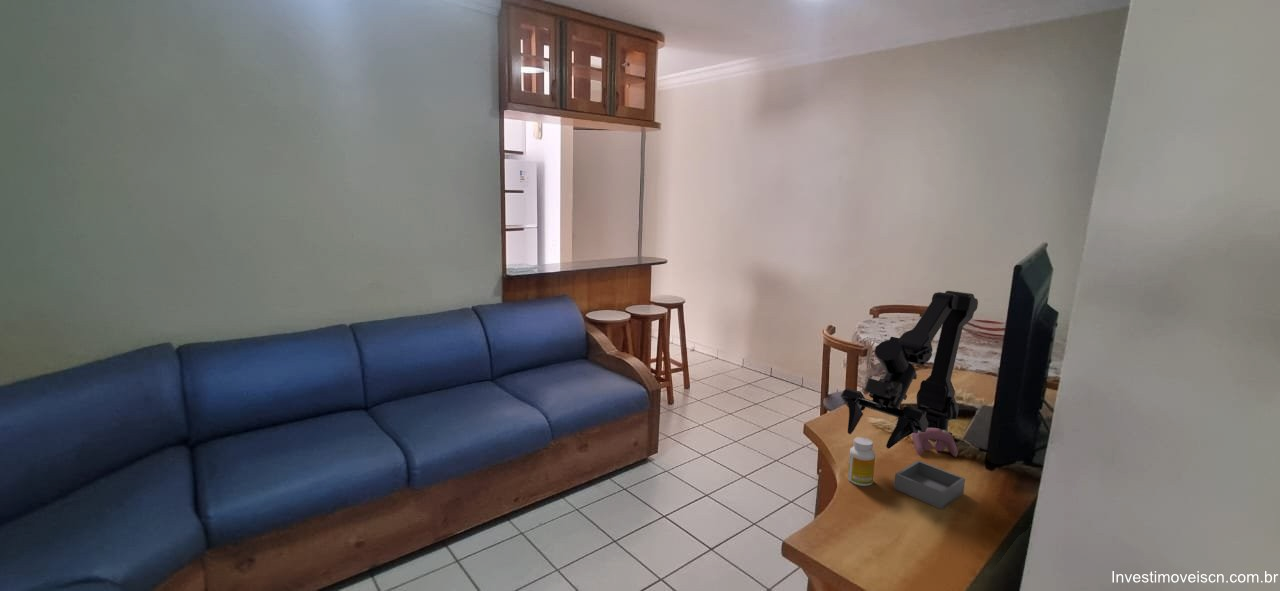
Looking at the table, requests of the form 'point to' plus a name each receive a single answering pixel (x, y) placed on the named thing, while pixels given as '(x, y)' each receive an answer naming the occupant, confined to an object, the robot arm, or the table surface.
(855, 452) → the supplement bottle
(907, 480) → the trough tray
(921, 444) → the video game controller
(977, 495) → the table surface
